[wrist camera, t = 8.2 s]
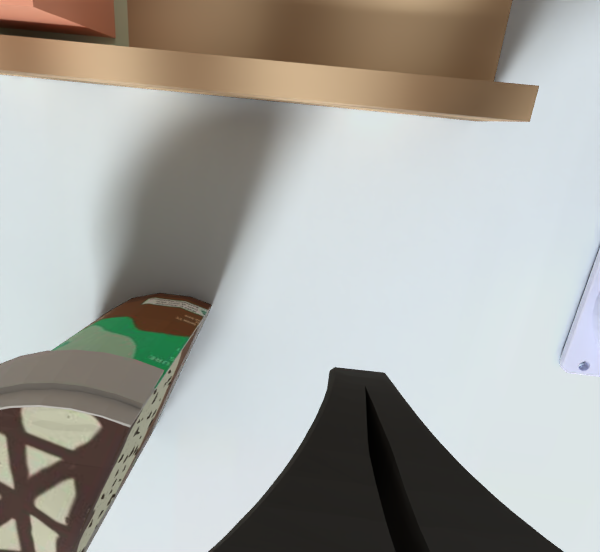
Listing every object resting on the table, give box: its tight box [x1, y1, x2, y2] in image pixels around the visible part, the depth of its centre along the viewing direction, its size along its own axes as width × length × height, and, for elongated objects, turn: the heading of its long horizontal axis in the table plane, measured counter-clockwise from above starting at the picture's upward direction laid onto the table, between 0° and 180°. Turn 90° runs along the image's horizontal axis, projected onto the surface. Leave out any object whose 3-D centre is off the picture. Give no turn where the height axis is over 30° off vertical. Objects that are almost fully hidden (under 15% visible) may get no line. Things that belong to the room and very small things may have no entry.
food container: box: [0, 293, 212, 552], centre depth 18 cm, size 12×6×10 cm, turn 153°
